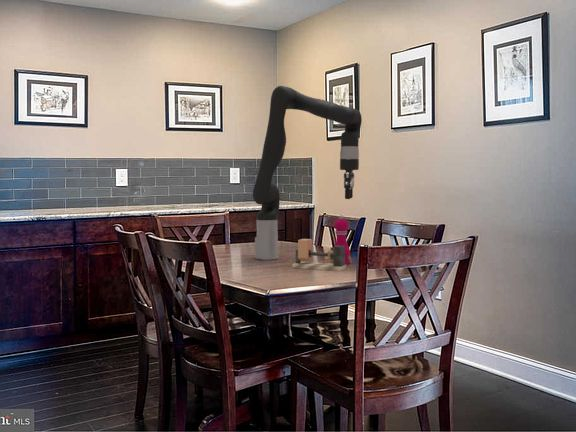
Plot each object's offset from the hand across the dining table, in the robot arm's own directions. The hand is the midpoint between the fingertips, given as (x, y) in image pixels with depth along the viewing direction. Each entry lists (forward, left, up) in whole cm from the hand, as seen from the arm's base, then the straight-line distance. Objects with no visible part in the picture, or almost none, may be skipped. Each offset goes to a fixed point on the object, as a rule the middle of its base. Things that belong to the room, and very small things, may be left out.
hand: (348, 198), depth 228 cm
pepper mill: (-4, +2, -27) cm, 28 cm away
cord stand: (-8, -13, -27) cm, 31 cm away
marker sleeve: (-14, -13, -24) cm, 30 cm away
